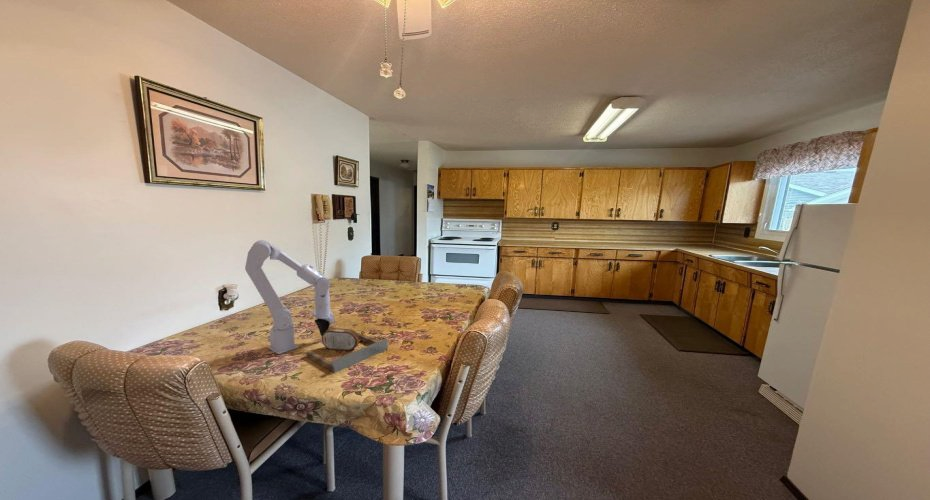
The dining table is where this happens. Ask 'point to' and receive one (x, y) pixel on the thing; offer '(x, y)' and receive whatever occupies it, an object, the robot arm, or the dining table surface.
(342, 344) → the tin
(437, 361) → the dining table surface
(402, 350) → the dining table surface
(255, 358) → the dining table surface
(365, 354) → the grey u-shaped bracket
